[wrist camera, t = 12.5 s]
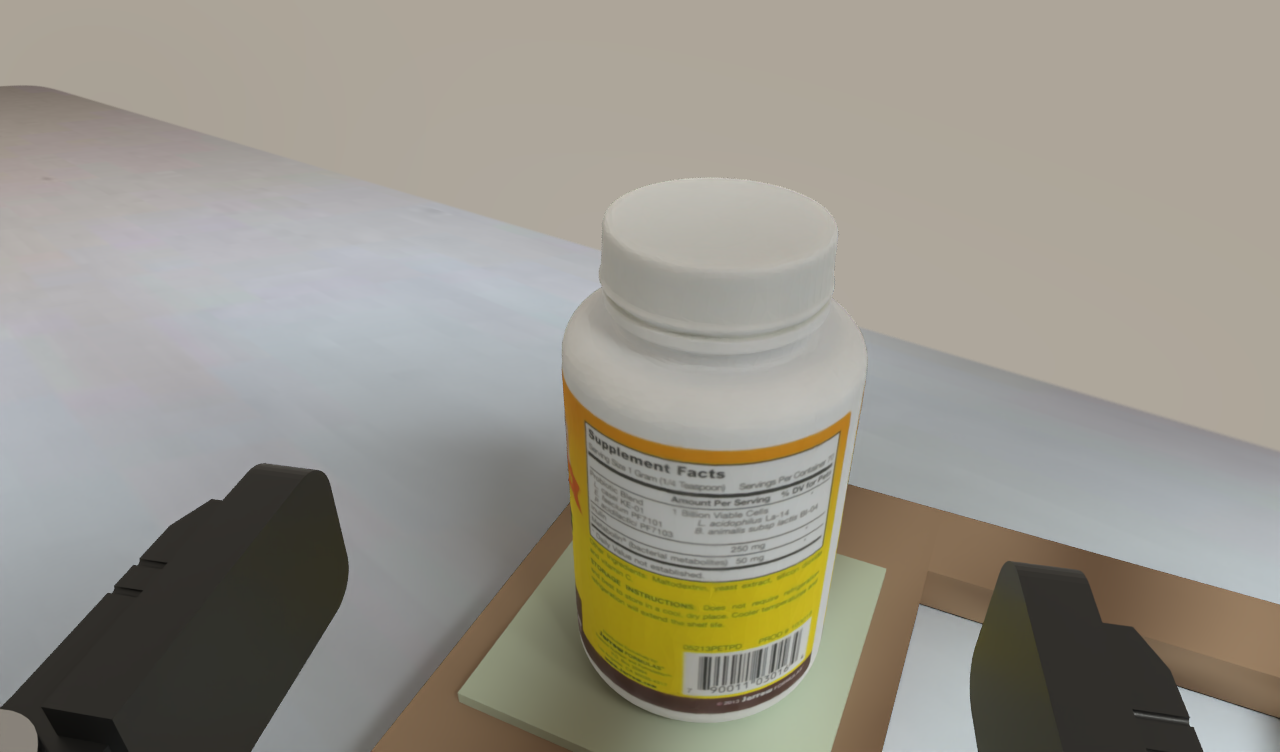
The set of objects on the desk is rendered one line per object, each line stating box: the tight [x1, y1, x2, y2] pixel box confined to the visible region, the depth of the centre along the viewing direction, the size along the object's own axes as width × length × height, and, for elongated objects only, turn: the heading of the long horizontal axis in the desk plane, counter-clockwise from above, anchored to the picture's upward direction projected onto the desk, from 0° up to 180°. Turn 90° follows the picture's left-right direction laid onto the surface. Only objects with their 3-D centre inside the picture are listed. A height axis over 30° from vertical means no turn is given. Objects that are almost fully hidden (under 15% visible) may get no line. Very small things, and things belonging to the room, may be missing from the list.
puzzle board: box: [371, 484, 1280, 752], centre depth 19 cm, size 20×14×2 cm
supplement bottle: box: [562, 178, 868, 723], centre depth 17 cm, size 6×6×10 cm
